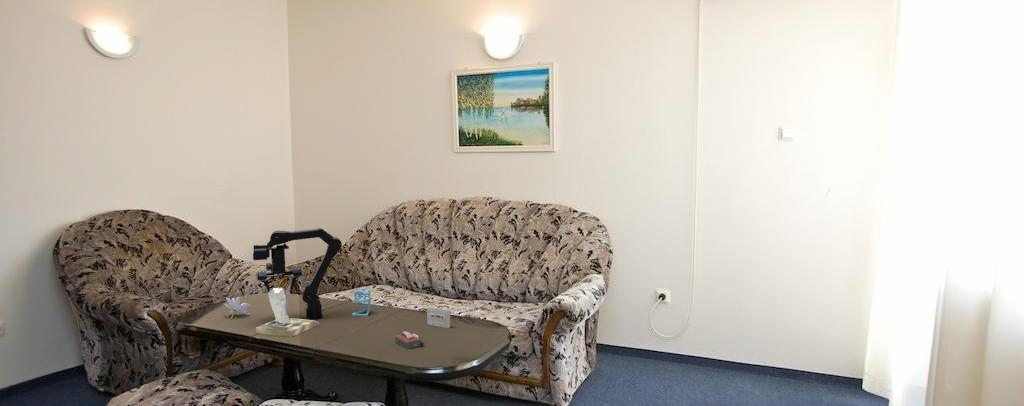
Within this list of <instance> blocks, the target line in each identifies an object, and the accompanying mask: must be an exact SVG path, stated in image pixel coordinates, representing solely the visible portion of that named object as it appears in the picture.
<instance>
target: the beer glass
mask: <svg viewBox="0 0 1024 406" xmlns="http://www.w3.org/2000/svg"><path fill="white" fill-rule="evenodd" d="M267 293H268V295H267V296H268V301H269V305H270V308H271V310H272V312H273V314H274V320H275V324H276V325H277V326H282V325H286V324H288V323H289V322H290V318H291V317H290V316H289V312H288V298H287V297H288V296H287V293H286V289H285V287H281V286H280V287H274V288H272V289H270V291H267Z"/></svg>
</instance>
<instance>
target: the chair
mask: <svg viewBox="0 0 1024 406" xmlns="http://www.w3.org/2000/svg"><path fill="white" fill-rule="evenodd" d="M371 292H372V291H371V290H369V289H365V290H362V289H356V290H355V289H354V292H353V295H354V300H353V303H357V304H358V305H359V307H360V308H361V310H358V311H355V312H352V313H351V316H352V317H353V316H354V317H369V314H370V312H371V311H370V309H371V302H372V300H373V299H372V297H371ZM367 294H368V295H367ZM357 295H358V296H357ZM362 295H363V297H362ZM362 303H363V304H365V303H366V304H367V309H366V311H365V308H364V306H363V304H362ZM364 312H366V313H364Z"/></svg>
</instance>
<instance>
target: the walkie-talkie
mask: <svg viewBox="0 0 1024 406" xmlns="http://www.w3.org/2000/svg"><path fill="white" fill-rule="evenodd" d="M394 338H395V339H394V340H395V343H396V344H398V345H399V346H401V347H403V348H404V349H407V350H411V349H416V348H419V347H422V346H424V345H425V344H424V342H423V341H422V339H420V338H419V335H418V334H416V333H411V332H408V331H406V330H403V331H402V332H400V334H397V335H395V337H394Z"/></svg>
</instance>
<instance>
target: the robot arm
mask: <svg viewBox="0 0 1024 406" xmlns="http://www.w3.org/2000/svg"><path fill="white" fill-rule="evenodd" d="M317 238H319V239H321V240H322V241H323V242H324V243H325V244H326V245H327V246H326V251H325V253H324V256H323V258H322V260H321V262H320V264H319V266H318V267H317V270H316V272H315V274H314V276H313V277H312V279H311V281H310V282H309V283H307V282H305V284H304V288H302V290H301V294H302V296H301V297H302V300H303V302H304V303H305V305H306V307H305V309H304V312H305V314H304V315H305V318H306V320H317V319H323V318H324V316H323V308H322V306H323V305H322V303H321V297H320V296H319V295H318V291H319V287H320V284H321V283H322V281H323V278H324V276H325V274H326V273H327V270H328V268H329V266H330V265H331V263H332V261H333V259H334V257H336V256H337V254H338V253H339V252H340V250H341V249H342V246H343V243H342V240H341V239H340V238H339V237H337V236H333V235H331V234H330V233H328V232H327V231H326V230H325V229H324V228H321V227H319V228H313V229H305V230H297V231H296V230H295V231H289V230H274V231H273V232H271V234H270V237H269V241H268V242H267V243H266V244H260V245H259V244H258V245H257V244H254V245H253V253H252V259H253V261H254V262H255V261H267V260H268V259H269V258H271V262H267V263H266V264H265V268H266V271H268V272H269V271H270V272H269V273H268V272H266V271H258V272H256V273H255V279H256V281H259V282H261V283H263V284H264V286H265V288H266V289H265V290H266V292H268V291H270V290H271V289H270V283H269V279H268V278H274V277H282V276H283V277H284V276H289V292H290V293H291V292H292V290H293V288H294V286H295V283H296V280H297V279H299V278H300V277H301V276H303V271H302V270H301V269H300V268H299V267H296V268H290V269H289V270H286V251H285V250H288V249H289V248H290V246H289V245H288V244H286V243H289V242H292V241H297V240H300V241H301V240H306V239H317ZM274 246H275V247H274ZM270 256H271V257H270Z"/></svg>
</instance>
